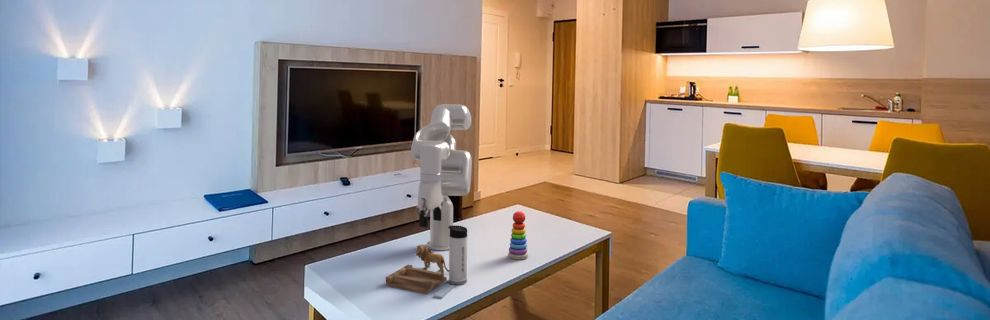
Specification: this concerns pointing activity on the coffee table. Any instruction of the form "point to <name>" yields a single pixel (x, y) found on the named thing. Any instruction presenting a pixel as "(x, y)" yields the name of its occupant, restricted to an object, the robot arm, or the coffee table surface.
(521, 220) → the stacking toy
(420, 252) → the lion figurine
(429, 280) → the cradle jig
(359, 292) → the coffee table surface
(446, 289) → the plank
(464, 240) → the travel mug
